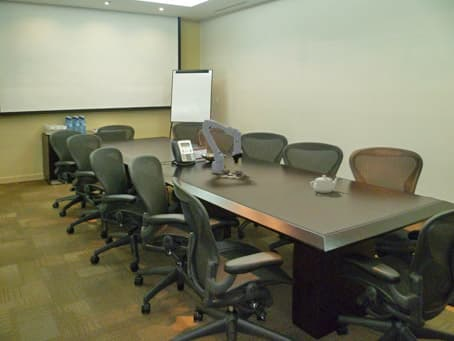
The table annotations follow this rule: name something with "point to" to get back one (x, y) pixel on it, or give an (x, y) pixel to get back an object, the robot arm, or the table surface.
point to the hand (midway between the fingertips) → (237, 163)
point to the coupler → (238, 162)
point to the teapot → (324, 184)
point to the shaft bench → (232, 174)
